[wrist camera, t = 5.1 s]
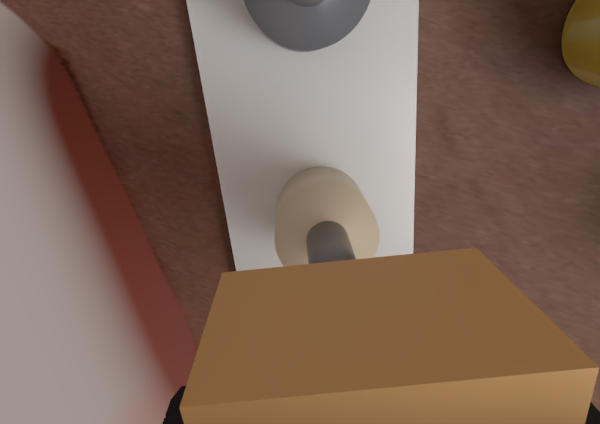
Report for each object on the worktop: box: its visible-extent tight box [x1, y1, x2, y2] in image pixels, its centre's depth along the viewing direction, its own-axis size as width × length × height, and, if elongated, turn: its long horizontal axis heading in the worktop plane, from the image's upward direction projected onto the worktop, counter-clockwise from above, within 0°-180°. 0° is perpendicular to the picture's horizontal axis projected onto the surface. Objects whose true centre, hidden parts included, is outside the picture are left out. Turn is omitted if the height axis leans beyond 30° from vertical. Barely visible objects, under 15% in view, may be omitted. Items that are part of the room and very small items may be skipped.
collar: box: [179, 248, 599, 424], centre depth 11 cm, size 8×8×5 cm
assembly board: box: [186, 0, 419, 271], centre depth 18 cm, size 25×13×13 cm, turn 5°
